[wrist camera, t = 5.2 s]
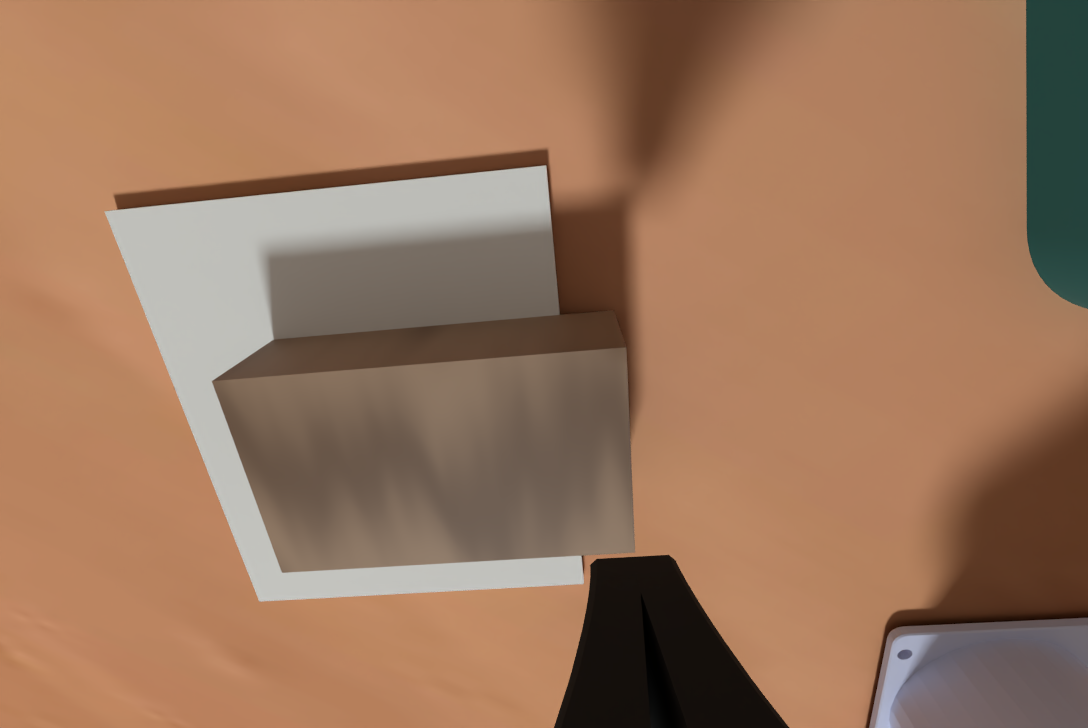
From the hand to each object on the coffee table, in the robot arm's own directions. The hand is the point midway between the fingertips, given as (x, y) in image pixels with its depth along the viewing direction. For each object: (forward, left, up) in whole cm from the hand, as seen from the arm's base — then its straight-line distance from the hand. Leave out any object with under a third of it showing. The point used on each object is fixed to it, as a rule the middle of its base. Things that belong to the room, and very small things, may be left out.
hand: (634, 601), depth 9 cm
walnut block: (0, -1, -6) cm, 6 cm away
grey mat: (0, +7, -8) cm, 11 cm away
